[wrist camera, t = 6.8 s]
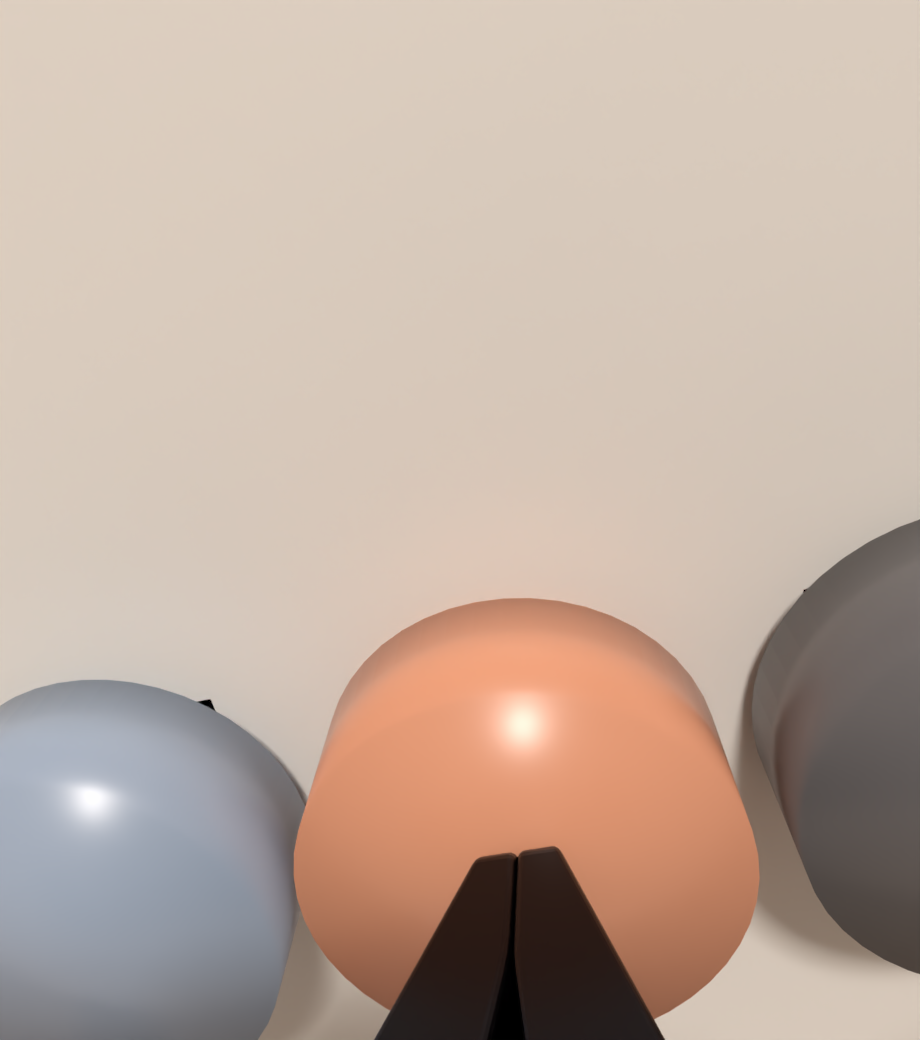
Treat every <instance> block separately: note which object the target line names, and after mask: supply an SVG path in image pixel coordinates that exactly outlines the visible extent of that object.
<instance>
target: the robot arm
mask: <svg viewBox="0 0 920 1040" xmlns="http://www.w3.org/2000/svg"><path fill="white" fill-rule="evenodd" d="M374 1040H665V1038H664V1037H663V1035H662V1033H661V1031H660V1029H659V1028H658V1026H657V1024H656V1022H655V1020H654V1018H653V1017H652V1015H651V1013H650V1011H649V1009H648V1008H647V1006H646V1004H645V1002H644V1000H643V999H642V997H641V995H640V993H639V991H638V989H637V988H636V986H635V984H634V982H633V980H632V979H631V977H630V975H629V973H628V971H627V970H626V968H625V966H624V964H623V962H622V960H621V959H620V957H619V955H618V953H617V951H616V950H615V948H614V946H613V944H612V942H611V940H610V939H609V937H608V935H607V933H606V931H605V930H604V928H603V926H602V924H601V922H600V921H599V919H598V917H597V915H596V913H595V911H594V910H593V908H592V906H591V904H590V902H589V901H588V899H587V897H586V895H585V893H584V892H583V890H582V888H581V886H580V884H579V882H578V881H577V879H576V877H575V875H574V873H573V872H572V870H571V868H570V866H569V864H568V862H567V861H566V859H565V857H564V855H563V853H562V852H561V850H560V849H559V848H558V847H555V846H550V847H543V848H536V849H529V850H524V851H522V852H521V853H520V854H519V856H518V857H517V855H515V854H513V853H502V854H496V855H489V856H482V857H479V858H478V859H476V860H475V861H474V863H473V864H472V866H471V868H470V869H469V871H468V873H467V875H466V876H465V878H464V880H463V882H462V884H461V885H460V887H459V889H458V891H457V893H456V894H455V896H454V898H453V900H452V901H451V903H450V905H449V907H448V909H447V910H446V912H445V914H444V916H443V917H442V919H441V921H440V923H439V925H438V926H437V928H436V930H435V932H434V934H433V935H432V937H431V939H430V941H429V942H428V944H427V946H426V948H425V950H424V951H423V953H422V955H421V957H420V959H419V960H418V962H417V964H416V966H415V967H414V969H413V971H412V973H411V975H410V976H409V978H408V980H407V982H406V984H405V985H404V987H403V989H402V991H401V992H400V994H399V996H398V998H397V1000H396V1001H395V1003H394V1005H393V1007H392V1008H391V1010H390V1012H389V1014H388V1016H387V1017H386V1019H385V1021H384V1023H383V1025H382V1026H381V1028H380V1030H379V1032H378V1033H377V1035H376V1037H375V1039H374Z"/></svg>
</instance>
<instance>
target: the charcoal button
mask: <svg viewBox="0 0 920 1040" xmlns="http://www.w3.org/2000/svg"><path fill="white" fill-rule="evenodd" d="M752 726H753V734H754V739H755V743H756V747H757V752H758V754H759V757H760V759H761V762H762V764H763V767H764V769H765V772H766V774H767V777H768V779H769V781H770V784H771V786H772V789H773V791H774V794H775V796H776V799H777V801H778V804H779V806H780V809H781V811H782V814H783V816H784V819H785V821H786V823H787V826H788V828H789V831H790V833H791V836H792V838H793V841H794V843H795V846H796V848H797V851H798V853H799V856H800V858H801V861H802V863H803V865H804V868H805V870H806V873H807V875H808V878H809V880H810V883H811V885H812V887H813V890H814V892H815V894H816V896H817V897H818V899H819V900H820V902H821V903H822V905H823V907H824V908H825V910H826V911H827V913H828V914H829V915H830V916H831V917H832V918H833V920H834V921H835V922H836V923H837V924H838V925H839V926H840V927H841V929H842V930H843V931H844V932H846V933H847V934H848V935H849V936H851V937H852V938H853V939H854V940H855V941H857V942H858V943H859V944H860V945H861V946H863V947H864V948H866V949H868V950H869V951H871V952H873V953H874V954H876V955H877V956H879V957H881V958H882V959H884V960H886V961H888V962H891V963H893V964H895V965H897V966H899V967H902V968H904V969H906V970H908V971H911V972H915V973H918V974H920V519H919V520H917V521H914V522H911V523H908V524H906V525H903V526H900V527H898V528H896V529H894V530H892V531H890V532H888V533H885V534H883V535H881V536H879V537H877V538H875V539H873V540H871V541H869V542H868V543H866V544H865V545H863V546H861V547H860V548H858V549H857V550H855V551H853V552H852V553H850V554H849V555H847V556H846V557H844V558H843V559H841V560H840V561H839V562H838V563H836V564H835V565H834V566H833V567H831V568H830V569H829V570H828V571H826V572H825V573H824V574H823V575H821V576H820V577H819V578H818V579H817V580H816V581H815V582H814V583H813V584H812V585H811V586H810V587H809V588H808V589H807V590H806V591H805V592H804V593H803V594H802V595H801V596H800V597H799V599H798V600H797V601H796V602H795V604H794V605H793V606H792V608H791V609H790V610H789V611H788V613H787V614H786V615H785V616H784V618H783V619H782V621H781V623H780V624H779V626H778V628H777V629H776V631H775V633H774V634H773V636H772V638H771V639H770V641H769V643H768V646H767V648H766V650H765V653H764V655H763V658H762V660H761V662H760V665H759V669H758V673H757V677H756V680H755V684H754V690H753V700H752Z"/></svg>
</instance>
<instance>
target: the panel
mask: <svg viewBox="0 0 920 1040" xmlns="http://www.w3.org/2000/svg"><path fill="white" fill-rule="evenodd" d="M919 519H920V0H0V705H2V704H4V703H5V702H7V701H9V700H10V699H12V698H14V697H16V696H18V695H21V694H23V693H26V692H28V691H31V690H33V689H36V688H40V687H44V686H48V685H51V684H55V683H61V682H69V681H77V680H115V681H125V682H133V683H138V684H143V685H148V686H152V687H157V688H160V689H164V690H167V691H170V692H173V693H176V694H179V695H182V696H185V697H187V698H189V699H191V700H194V701H196V702H197V701H203V700H208V699H211V701H212V704H213V706H214V708H215V711H216V712H218V713H219V714H221V715H223V716H225V717H226V718H228V719H230V720H231V721H233V722H234V723H235V724H237V725H238V726H240V727H241V728H242V729H244V730H245V731H246V732H248V733H249V734H250V735H252V736H253V737H254V738H255V739H256V740H257V741H258V742H259V743H260V744H261V745H262V746H264V747H265V748H266V749H267V750H268V751H269V752H270V753H271V755H272V756H273V757H274V758H275V759H276V760H277V762H278V763H279V764H280V765H281V766H282V767H283V769H284V770H285V772H286V773H287V775H288V776H289V778H290V779H291V781H292V782H293V784H294V785H295V787H296V789H297V791H298V793H299V795H300V797H301V799H302V801H303V803H304V805H305V806H306V803H307V800H308V796H309V793H310V790H311V787H312V783H313V780H314V777H315V773H316V770H317V767H318V764H319V760H320V757H321V754H322V750H323V747H324V744H325V741H326V737H327V734H328V731H329V727H330V724H331V721H332V718H333V715H334V712H335V710H336V707H337V704H338V702H339V699H340V697H341V695H342V694H343V692H344V690H345V688H346V686H347V685H348V683H349V681H350V679H351V678H352V677H353V676H354V674H355V673H356V672H357V670H358V669H359V668H360V667H361V665H362V664H363V663H364V661H366V660H367V659H368V658H369V657H370V656H371V655H372V654H373V653H374V652H375V651H376V650H377V649H378V648H379V647H380V646H381V645H382V644H384V643H385V642H387V641H388V640H389V639H391V638H392V637H394V636H395V635H396V634H398V633H399V632H400V631H402V630H404V629H406V628H407V627H409V626H411V625H413V624H415V623H417V622H419V621H420V620H422V619H424V618H427V617H429V616H432V615H434V614H437V613H439V612H442V611H445V610H447V609H450V608H454V607H458V606H462V605H466V604H470V603H474V602H480V601H487V600H495V599H503V598H535V599H546V600H556V601H562V602H566V603H571V604H575V605H580V606H585V607H588V608H591V609H594V610H596V611H599V612H602V613H605V614H608V615H611V616H613V617H615V618H617V619H619V620H621V621H623V622H625V623H627V624H629V625H631V626H633V627H635V628H637V629H638V630H640V631H641V632H643V633H644V634H646V635H647V636H649V637H650V638H652V639H654V640H655V641H657V642H658V643H659V644H660V645H661V646H662V647H663V648H665V649H666V650H667V651H668V652H669V653H670V654H671V655H673V656H674V657H675V658H676V659H677V660H678V662H679V663H680V664H681V665H682V666H683V667H684V669H685V670H686V671H687V672H688V673H689V674H690V676H691V677H692V678H693V680H694V682H695V683H696V685H697V686H698V688H699V690H700V691H701V693H702V694H703V696H704V698H705V701H706V703H707V705H708V708H709V710H710V712H711V715H712V717H713V720H714V723H715V726H716V728H717V731H718V734H719V737H720V740H721V743H722V746H723V748H724V751H725V754H726V757H727V760H728V763H729V765H730V768H731V771H732V774H733V777H734V780H735V783H736V785H737V788H738V791H739V794H740V797H741V800H742V802H743V805H744V808H745V811H746V814H747V817H748V820H749V822H750V825H751V828H752V831H753V835H754V839H755V843H756V848H757V852H758V859H759V876H760V879H759V888H758V896H757V903H756V906H755V909H754V913H753V916H752V919H751V923H750V925H749V927H748V929H747V931H746V933H745V935H744V938H743V940H742V942H741V944H740V945H739V947H738V948H737V950H736V951H735V953H734V954H733V955H732V957H731V958H730V960H729V961H728V963H727V964H726V965H725V966H724V967H723V968H722V970H721V971H720V972H719V973H718V974H717V975H716V976H715V977H714V978H713V979H712V980H711V981H710V982H709V983H708V984H707V985H706V986H705V987H703V988H702V989H701V990H700V991H699V992H697V993H696V994H695V995H694V996H692V997H691V998H690V999H688V1000H687V1001H685V1002H684V1003H682V1004H681V1005H679V1006H677V1007H676V1008H674V1009H673V1010H671V1011H670V1012H668V1013H666V1014H664V1015H662V1016H660V1017H658V1018H656V1019H654V1020H655V1022H656V1024H657V1026H658V1028H659V1029H660V1031H661V1033H662V1035H663V1037H664V1038H665V1040H920V974H918V973H915V972H911V971H908V970H906V969H904V968H902V967H899V966H897V965H895V964H893V963H891V962H888V961H886V960H884V959H882V958H881V957H879V956H877V955H876V954H874V953H873V952H871V951H869V950H868V949H866V948H864V947H863V946H861V945H860V944H859V943H858V942H857V941H855V940H854V939H853V938H852V937H851V936H849V935H848V934H847V933H846V932H844V931H843V930H842V929H841V927H840V926H839V925H838V924H837V923H836V922H835V921H834V920H833V918H832V917H831V916H830V915H829V914H828V913H827V911H826V910H825V908H824V907H823V905H822V903H821V902H820V900H819V899H818V897H817V896H816V894H815V892H814V890H813V887H812V885H811V883H810V880H809V878H808V875H807V873H806V870H805V868H804V865H803V863H802V861H801V858H800V856H799V853H798V851H797V848H796V846H795V843H794V841H793V838H792V836H791V833H790V831H789V828H788V826H787V823H786V821H785V819H784V816H783V814H782V811H781V809H780V806H779V804H778V801H777V799H776V796H775V794H774V791H773V789H772V786H771V784H770V781H769V779H768V777H767V774H766V772H765V769H764V767H763V764H762V762H761V759H760V757H759V754H758V752H757V747H756V743H755V739H754V734H753V726H752V700H753V690H754V684H755V680H756V677H757V673H758V669H759V665H760V662H761V660H762V658H763V655H764V653H765V650H766V648H767V646H768V643H769V641H770V639H771V638H772V636H773V634H774V633H775V631H776V629H777V628H778V626H779V624H780V623H781V621H782V619H783V618H784V616H785V615H786V614H787V613H788V611H789V610H790V609H791V608H792V606H793V605H794V604H795V602H796V601H797V600H798V599H799V597H800V596H801V595H802V594H803V590H804V589H808V588H809V587H810V586H811V585H812V584H813V583H814V582H815V581H816V580H817V579H818V578H819V577H820V576H821V575H823V574H824V573H825V572H826V571H828V570H829V569H830V568H831V567H833V566H834V565H835V564H836V563H838V562H839V561H840V560H841V559H843V558H844V557H846V556H847V555H849V554H850V553H852V552H853V551H855V550H857V549H858V548H860V547H861V546H863V545H865V544H866V543H868V542H869V541H871V540H873V539H875V538H877V537H879V536H881V535H883V534H885V533H888V532H890V531H892V530H894V529H896V528H898V527H900V526H903V525H906V524H908V523H911V522H914V521H917V520H919ZM389 1012H390V1010H388V1009H386V1008H385V1007H383V1006H382V1005H380V1004H379V1003H377V1002H376V1001H374V1000H373V999H371V998H370V997H368V996H367V995H365V994H364V993H363V992H361V991H360V990H359V989H358V988H357V987H355V986H354V985H353V984H352V983H351V982H350V981H348V980H347V979H346V978H345V977H344V976H343V975H342V974H341V973H340V972H339V971H338V970H337V969H336V967H335V966H334V965H333V964H332V963H331V962H330V961H329V960H328V958H327V957H326V956H325V954H324V953H323V951H322V950H321V949H320V947H319V946H318V944H317V943H316V942H315V940H314V938H313V936H312V934H311V932H310V930H309V928H308V926H307V924H306V922H305V920H304V918H303V915H302V912H300V915H299V919H298V923H297V926H296V930H295V934H294V938H293V941H292V945H291V949H290V952H289V956H288V960H287V964H286V967H285V971H284V975H283V978H282V982H281V986H280V990H279V993H278V997H277V1001H276V1004H275V1008H274V1010H273V1013H272V1015H271V1017H270V1020H269V1022H268V1024H267V1026H266V1028H265V1029H264V1031H263V1032H262V1034H261V1035H260V1037H259V1039H258V1040H374V1039H375V1037H376V1035H377V1033H378V1032H379V1030H380V1028H381V1026H382V1025H383V1023H384V1021H385V1019H386V1017H387V1016H388V1014H389Z"/></svg>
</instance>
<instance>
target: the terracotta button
mask: <svg viewBox="0 0 920 1040" xmlns="http://www.w3.org/2000/svg"><path fill="white" fill-rule="evenodd" d="M550 846H555V847H558V848H559V849H560V850H561V852H562V853H563V855H564V857H565V859H566V861H567V862H568V864H569V866H570V868H571V870H572V872H573V873H574V875H575V877H576V879H577V881H578V882H579V884H580V886H581V888H582V890H583V892H584V893H585V895H586V897H587V899H588V901H589V902H590V904H591V906H592V908H593V910H594V911H595V913H596V915H597V917H598V919H599V921H600V922H601V924H602V926H603V928H604V930H605V931H606V933H607V935H608V937H609V939H610V940H611V942H612V944H613V946H614V948H615V950H616V951H617V953H618V955H619V957H620V959H621V960H622V962H623V964H624V966H625V968H626V970H627V971H628V973H629V975H630V977H631V979H632V980H633V982H634V984H635V986H636V988H637V989H638V991H639V993H640V995H641V997H642V999H643V1000H644V1002H645V1004H646V1006H647V1008H648V1009H649V1011H650V1013H651V1015H652V1017H653V1018H654V1019H656V1018H658V1017H660V1016H662V1015H664V1014H666V1013H668V1012H670V1011H671V1010H673V1009H674V1008H676V1007H677V1006H679V1005H681V1004H682V1003H684V1002H685V1001H687V1000H688V999H690V998H691V997H692V996H694V995H695V994H696V993H697V992H699V991H700V990H701V989H702V988H703V987H705V986H706V985H707V984H708V983H709V982H710V981H711V980H712V979H713V978H714V977H715V976H716V975H717V974H718V973H719V972H720V971H721V970H722V968H723V967H724V966H725V965H726V964H727V963H728V961H729V960H730V958H731V957H732V955H733V954H734V953H735V951H736V950H737V948H738V947H739V945H740V944H741V942H742V940H743V938H744V935H745V933H746V931H747V929H748V927H749V925H750V923H751V919H752V916H753V913H754V909H755V906H756V903H757V896H758V888H759V879H760V876H759V859H758V852H757V848H756V843H755V839H754V835H753V831H752V828H751V825H750V822H749V820H748V817H747V814H746V811H745V808H744V805H743V802H742V800H741V797H740V794H739V791H738V788H737V785H736V783H735V780H734V777H733V774H732V771H731V768H730V765H729V763H728V760H727V757H726V754H725V751H724V748H723V746H722V743H721V740H720V737H719V734H718V731H717V728H716V726H715V723H714V720H713V717H712V715H711V712H710V710H709V708H708V705H707V703H706V701H705V698H704V696H703V694H702V693H701V691H700V690H699V688H698V686H697V685H696V683H695V682H694V680H693V678H692V677H691V676H690V674H689V673H688V672H687V671H686V670H685V669H684V667H683V666H682V665H681V664H680V663H679V662H678V660H677V659H676V658H675V657H674V656H673V655H671V654H670V653H669V652H668V651H667V650H666V649H665V648H663V647H662V646H661V645H660V644H659V643H658V642H657V641H655V640H654V639H652V638H650V637H649V636H647V635H646V634H644V633H643V632H641V631H640V630H638V629H637V628H635V627H633V626H631V625H629V624H627V623H625V622H623V621H621V620H619V619H617V618H615V617H613V616H611V615H608V614H605V613H602V612H599V611H596V610H594V609H591V608H588V607H585V606H580V605H575V604H571V603H566V602H562V601H556V600H546V599H535V598H503V599H495V600H487V601H480V602H474V603H470V604H466V605H462V606H458V607H454V608H450V609H447V610H445V611H442V612H439V613H437V614H434V615H432V616H429V617H427V618H424V619H422V620H420V621H419V622H417V623H415V624H413V625H411V626H409V627H407V628H406V629H404V630H402V631H400V632H399V633H398V634H396V635H395V636H394V637H392V638H391V639H389V640H388V641H387V642H385V643H384V644H382V645H381V646H380V647H379V648H378V649H377V650H376V651H375V652H374V653H373V654H372V655H371V656H370V657H369V658H368V659H367V660H366V661H364V663H363V664H362V665H361V667H360V668H359V669H358V670H357V672H356V673H355V674H354V676H353V677H352V678H351V679H350V681H349V683H348V685H347V686H346V688H345V690H344V692H343V694H342V695H341V697H340V699H339V702H338V704H337V707H336V710H335V712H334V715H333V718H332V721H331V724H330V727H329V731H328V734H327V737H326V741H325V744H324V747H323V750H322V754H321V757H320V760H319V764H318V767H317V770H316V773H315V777H314V780H313V783H312V787H311V790H310V793H309V796H308V800H307V803H306V806H305V810H304V813H303V816H302V820H301V823H300V826H299V829H298V834H297V839H296V845H295V850H294V882H295V888H296V894H297V900H298V903H299V906H300V909H301V912H302V915H303V918H304V920H305V922H306V924H307V926H308V928H309V930H310V932H311V934H312V936H313V938H314V940H315V942H316V943H317V944H318V946H319V947H320V949H321V950H322V951H323V953H324V954H325V956H326V957H327V958H328V960H329V961H330V962H331V963H332V964H333V965H334V966H335V967H336V969H337V970H338V971H339V972H340V973H341V974H342V975H343V976H344V977H345V978H346V979H347V980H348V981H350V982H351V983H352V984H353V985H354V986H355V987H357V988H358V989H359V990H360V991H361V992H363V993H364V994H365V995H367V996H368V997H370V998H371V999H373V1000H374V1001H376V1002H377V1003H379V1004H380V1005H382V1006H383V1007H385V1008H386V1009H388V1010H391V1008H392V1007H393V1005H394V1003H395V1001H396V1000H397V998H398V996H399V994H400V992H401V991H402V989H403V987H404V985H405V984H406V982H407V980H408V978H409V976H410V975H411V973H412V971H413V969H414V967H415V966H416V964H417V962H418V960H419V959H420V957H421V955H422V953H423V951H424V950H425V948H426V946H427V944H428V942H429V941H430V939H431V937H432V935H433V934H434V932H435V930H436V928H437V926H438V925H439V923H440V921H441V919H442V917H443V916H444V914H445V912H446V910H447V909H448V907H449V905H450V903H451V901H452V900H453V898H454V896H455V894H456V893H457V891H458V889H459V887H460V885H461V884H462V882H463V880H464V878H465V876H466V875H467V873H468V871H469V869H470V868H471V866H472V864H473V863H474V861H475V860H476V859H478V858H479V857H482V856H489V855H496V854H502V853H513V854H515V855H517V857H518V856H519V854H520V853H521V852H522V851H524V850H529V849H536V848H543V847H550Z"/></svg>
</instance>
